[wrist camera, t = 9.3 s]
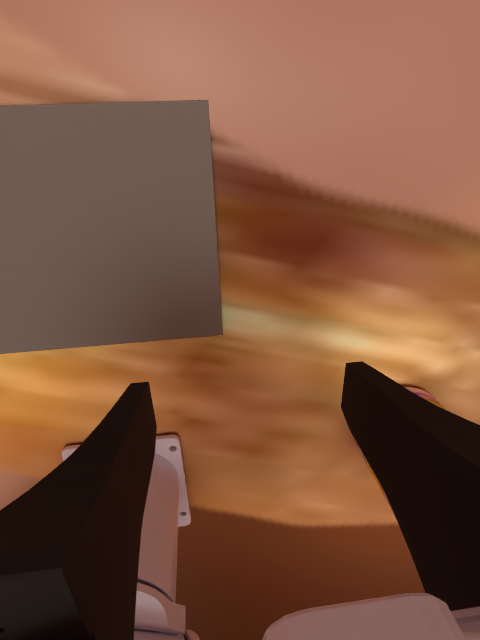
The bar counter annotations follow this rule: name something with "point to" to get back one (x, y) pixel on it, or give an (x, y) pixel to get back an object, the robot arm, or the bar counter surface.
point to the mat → (106, 225)
